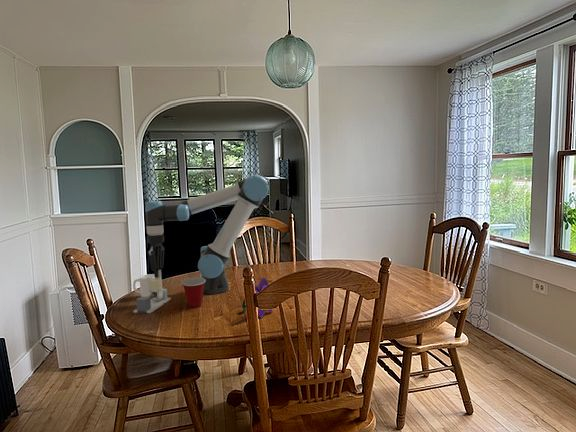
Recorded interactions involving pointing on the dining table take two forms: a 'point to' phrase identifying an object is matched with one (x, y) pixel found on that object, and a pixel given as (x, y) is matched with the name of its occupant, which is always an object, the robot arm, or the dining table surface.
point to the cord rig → (150, 303)
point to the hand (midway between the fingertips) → (158, 283)
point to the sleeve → (156, 288)
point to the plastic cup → (194, 291)
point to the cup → (144, 284)
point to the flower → (261, 286)
